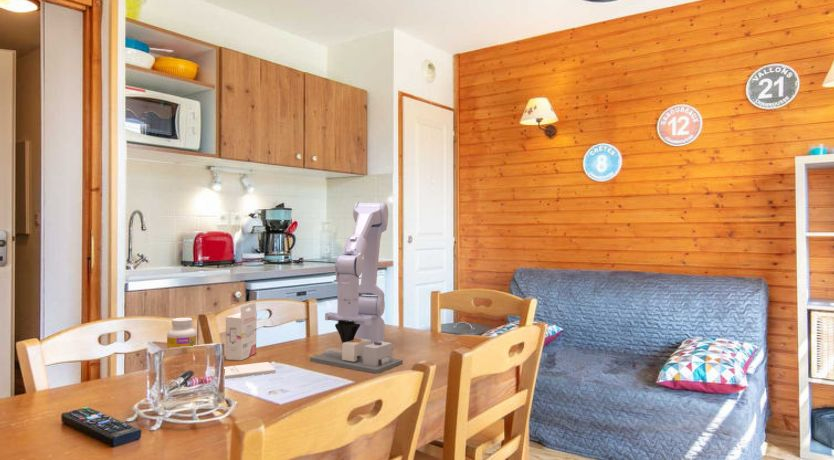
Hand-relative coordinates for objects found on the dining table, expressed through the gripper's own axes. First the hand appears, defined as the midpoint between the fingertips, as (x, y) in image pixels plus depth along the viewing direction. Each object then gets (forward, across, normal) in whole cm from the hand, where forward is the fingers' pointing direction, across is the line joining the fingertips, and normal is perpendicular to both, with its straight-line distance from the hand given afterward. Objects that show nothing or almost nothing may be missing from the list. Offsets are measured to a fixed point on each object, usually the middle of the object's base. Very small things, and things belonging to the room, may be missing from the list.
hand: (347, 349), depth 148 cm
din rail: (+3, +3, 0) cm, 4 cm away
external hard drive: (+4, -14, -23) cm, 27 cm away
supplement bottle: (+3, -28, -31) cm, 42 cm away
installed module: (+2, +10, 0) cm, 10 cm away
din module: (+2, +3, 0) cm, 4 cm away
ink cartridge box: (+3, -27, -13) cm, 30 cm away
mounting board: (+3, +3, 0) cm, 4 cm away
